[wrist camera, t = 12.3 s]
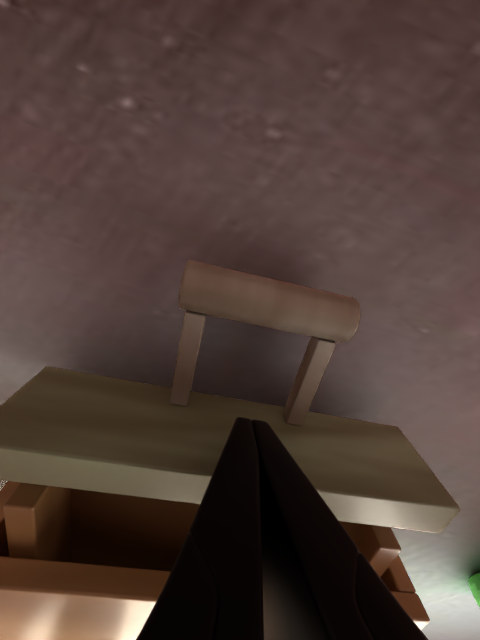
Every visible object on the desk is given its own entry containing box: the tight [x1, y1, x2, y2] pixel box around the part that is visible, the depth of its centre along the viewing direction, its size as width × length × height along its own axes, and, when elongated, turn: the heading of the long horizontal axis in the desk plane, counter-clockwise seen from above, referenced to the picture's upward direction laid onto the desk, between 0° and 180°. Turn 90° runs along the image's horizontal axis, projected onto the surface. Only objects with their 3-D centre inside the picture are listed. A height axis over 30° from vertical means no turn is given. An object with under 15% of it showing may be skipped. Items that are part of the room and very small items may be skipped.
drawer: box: [0, 260, 460, 577], centre depth 10 cm, size 18×13×3 cm
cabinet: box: [0, 481, 430, 640], centre depth 12 cm, size 14×14×5 cm
